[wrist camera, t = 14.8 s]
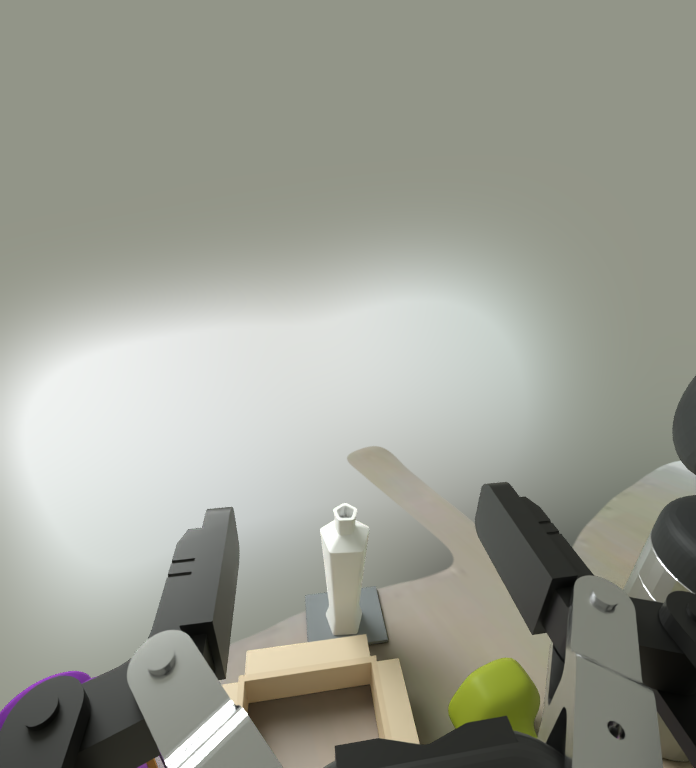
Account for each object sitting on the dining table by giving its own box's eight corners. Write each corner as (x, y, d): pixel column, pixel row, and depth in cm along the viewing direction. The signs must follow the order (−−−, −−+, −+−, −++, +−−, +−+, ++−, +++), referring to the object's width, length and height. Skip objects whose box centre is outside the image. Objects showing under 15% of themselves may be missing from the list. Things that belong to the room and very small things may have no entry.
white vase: (363, 596, 44) (368, 492, 38) (367, 636, 41) (373, 528, 34) (322, 598, 44) (319, 494, 37) (322, 638, 40) (319, 530, 33)
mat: (375, 588, 46) (375, 586, 46) (387, 641, 40) (387, 639, 40) (305, 597, 45) (305, 595, 45) (308, 653, 39) (308, 650, 39)
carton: (389, 652, 40) (392, 630, 38) (449, 913, 25) (456, 896, 24) (223, 676, 37) (218, 654, 36) (187, 976, 23) (176, 962, 22)
